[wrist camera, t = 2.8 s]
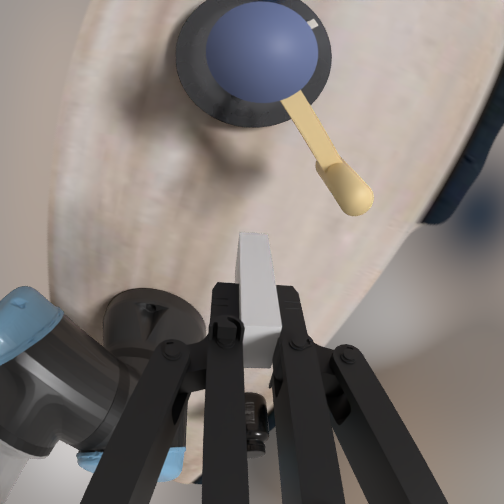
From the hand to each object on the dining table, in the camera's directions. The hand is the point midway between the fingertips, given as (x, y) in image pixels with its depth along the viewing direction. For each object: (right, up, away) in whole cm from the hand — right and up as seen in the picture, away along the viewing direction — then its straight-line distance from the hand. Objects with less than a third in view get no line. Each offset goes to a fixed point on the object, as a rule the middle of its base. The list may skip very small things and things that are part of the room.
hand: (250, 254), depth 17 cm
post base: (0, +18, +8) cm, 20 cm away
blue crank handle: (+3, +12, +5) cm, 13 cm away
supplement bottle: (-1, -29, +40) cm, 49 cm away
